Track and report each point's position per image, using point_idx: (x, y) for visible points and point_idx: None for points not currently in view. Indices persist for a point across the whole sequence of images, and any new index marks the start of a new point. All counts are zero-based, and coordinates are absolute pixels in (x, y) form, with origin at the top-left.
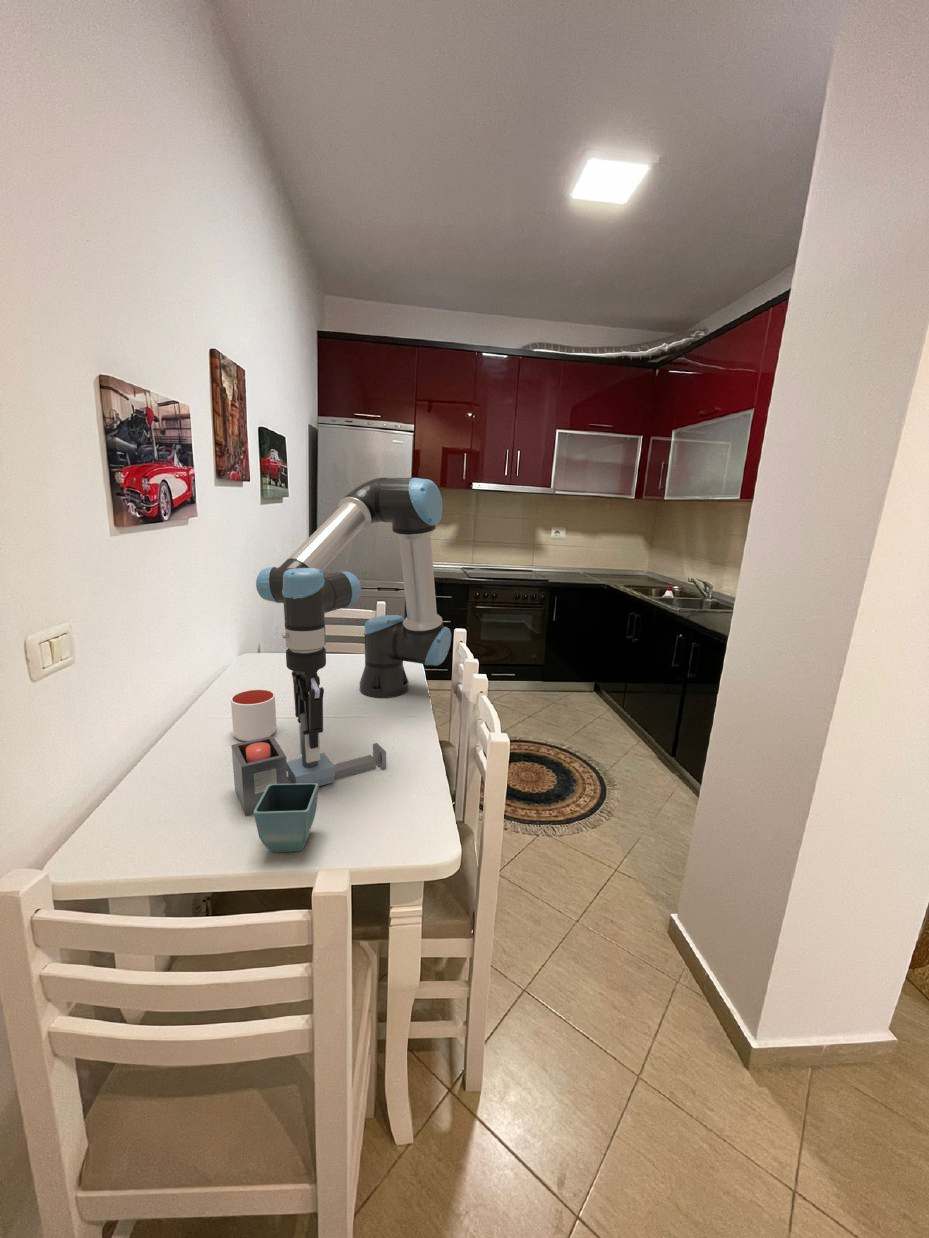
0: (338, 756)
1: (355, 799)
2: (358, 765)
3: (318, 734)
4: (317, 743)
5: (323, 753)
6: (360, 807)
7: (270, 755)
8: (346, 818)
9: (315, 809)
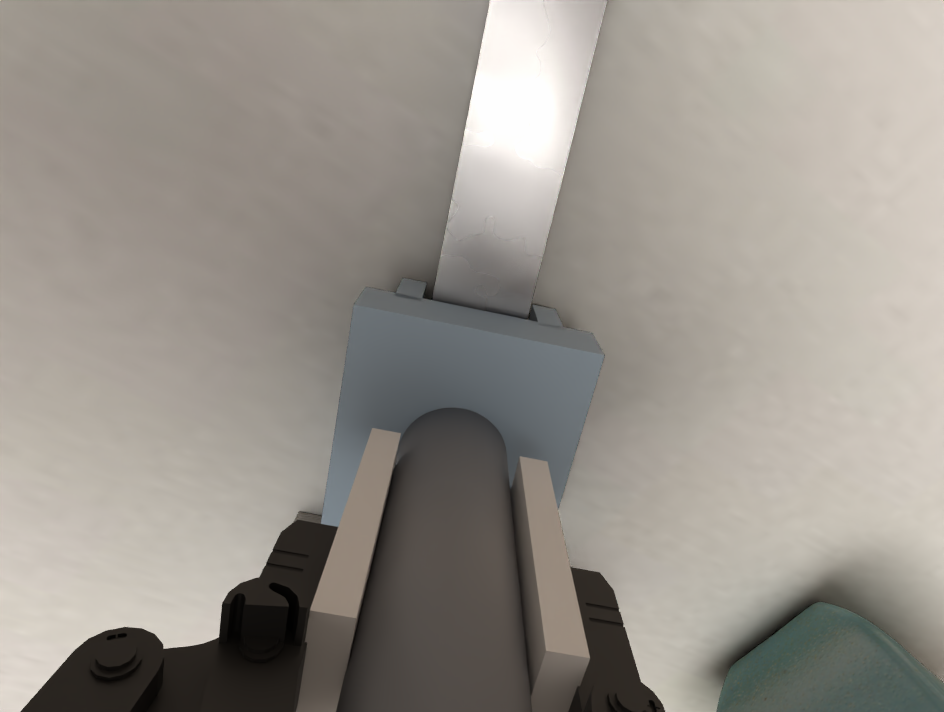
0: (257, 87)
1: (788, 306)
2: (577, 116)
3: (581, 629)
4: (614, 610)
5: (368, 315)
6: (869, 329)
7: None
8: (878, 431)
9: (923, 666)
